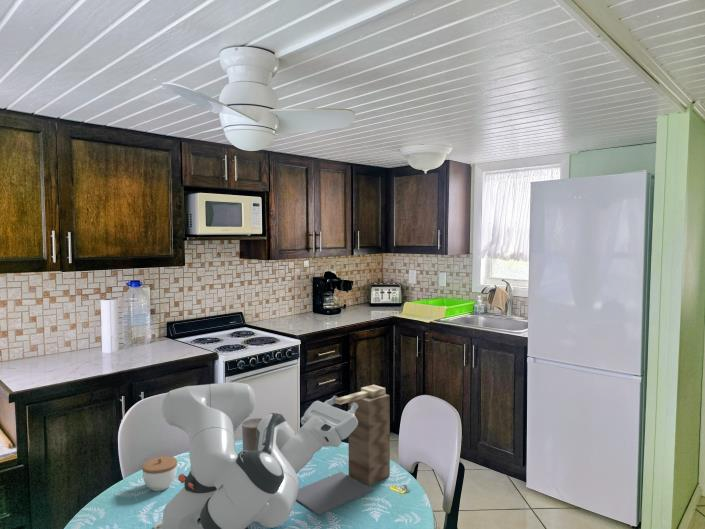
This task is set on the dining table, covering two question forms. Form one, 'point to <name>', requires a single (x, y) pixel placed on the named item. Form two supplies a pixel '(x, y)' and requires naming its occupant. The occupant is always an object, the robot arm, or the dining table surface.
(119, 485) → the dining table surface
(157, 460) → the lidded jar
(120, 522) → the dining table surface
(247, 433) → the pillar candle
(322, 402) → the robot arm
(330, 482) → the rubber mat
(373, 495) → the dining table surface
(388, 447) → the walnut stand
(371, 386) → the beech spatula
